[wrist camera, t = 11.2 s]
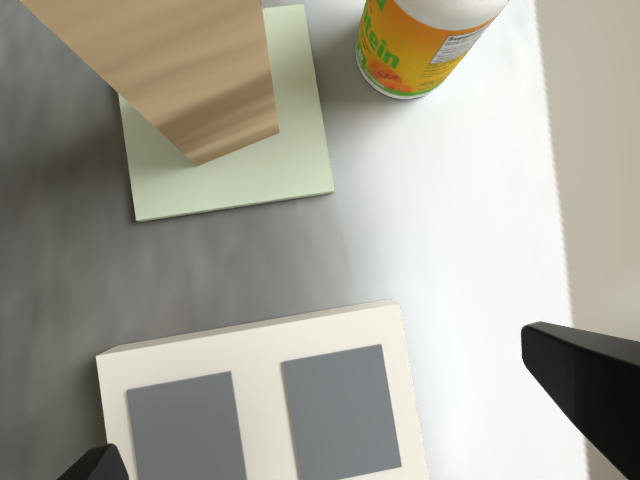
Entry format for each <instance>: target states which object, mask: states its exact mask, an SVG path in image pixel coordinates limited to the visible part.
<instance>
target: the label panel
mask: <svg viewBox="0 0 640 480" xmlns="http://www.w3.org/2000/svg"><path fill="white" fill-rule="evenodd" d="M96 361H97V368H98V376H99V383H100V391H101V398H102V406H103V413H104V420H105V428H106V435H107V443H113V444H115V445H116V446H117V448H118V450H119V453H120V455H121V457H122V460H123V462H124V465H125V467H126V469H127V472H128V475H129V480H429V475H428V469H427V463H426V457H425V451H424V445H423V440H422V434H421V428H420V422H419V416H418V410H417V404H416V398H415V392H414V387H413V381H412V375H411V369H410V363H409V357H408V351H407V345H406V339H405V334H404V328H403V322H402V316H401V310H400V304H399V303H397V302H395V301H393V300H390V299H386V300H380V301H375V302H369V303H363V304H357V305H351V306H346V307H340V308H334V309H328V310H322V311H316V312H311V313H305V314H299V315H293V316H287V317H282V318H276V319H270V320H264V321H258V322H253V323H247V324H241V325H235V326H229V327H223V328H218V329H212V330H206V331H200V332H194V333H189V334H183V335H177V336H171V337H165V338H159V339H154V340H148V341H142V342H136V343H130V344H125V345H119V346H116V347H114V348H112V349H109V350H107V351H105V352H103V353H101V354H99V355H97V356H96Z"/></svg>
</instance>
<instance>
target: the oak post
mask: <svg viewBox="0 0 640 480" xmlns="http://www.w3.org/2000/svg"><path fill="white" fill-rule="evenodd" d="M19 1H20V2H21V3H22V4H23V5H25V6H26V7H27V8H28V9H29V10H30V11H31V12H32V13H33V14H34V15H35V16H36V17H37V18H38V19H40V20H41V21H42V22H43V23H44V24H45V25H46V26H47V27H48V28H49V29H50V30H51V31H52V32H53V33H55V34H56V35H57V36H58V37H59V38H60V39H61V40H62V41H63V42H64V43H65V44H66V45H67V46H69V47H70V48H71V49H72V50H73V51H74V52H75V53H76V54H77V55H78V56H79V57H80V58H81V59H82V60H84V61H85V62H86V63H87V64H88V65H89V66H90V67H91V68H92V69H93V70H94V71H95V72H96V73H97V74H99V75H100V76H101V77H102V78H103V79H104V80H105V81H106V82H107V83H108V84H109V85H110V86H111V87H112V88H114V89H115V90H116V91H117V92H118V93H119V94H120V95H121V96H122V97H123V98H124V99H125V100H126V101H128V102H129V103H130V104H131V105H132V106H133V107H134V108H135V109H136V110H137V111H138V112H139V113H140V114H141V115H143V116H144V117H145V118H146V119H147V120H148V121H149V122H150V123H151V124H152V125H153V126H154V127H155V128H156V129H158V130H159V131H160V132H161V133H162V134H163V135H164V136H165V137H166V138H167V139H168V140H169V141H170V142H171V143H173V144H174V145H175V146H176V147H177V148H178V149H179V150H180V151H181V152H182V153H183V154H184V155H185V156H186V157H188V158H189V159H190V160H191V161H192V162H193V163H194V164H195V165H196V166H200V165H202V164H205V163H207V162H210V161H212V160H214V159H217V158H219V157H222V156H224V155H227V154H229V153H232V152H234V151H236V150H239V149H241V148H244V147H246V146H249V145H251V144H254V143H256V142H258V141H261V140H263V139H266V138H268V137H271V136H273V135H276V134H278V133H280V132H279V125H278V118H277V111H276V104H275V96H274V89H273V82H272V75H271V68H270V61H269V53H268V46H267V39H266V32H265V25H264V18H263V10H262V3H261V0H19Z"/></svg>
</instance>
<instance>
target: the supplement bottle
mask: <svg viewBox="0 0 640 480" xmlns="http://www.w3.org/2000/svg"><path fill="white" fill-rule="evenodd" d="M508 2H509V0H366V3H365V7H364V10H363V14H362V18H361V21H360V25H359V28H358V32H357V37H356V43H355V54H356V60H357V64H358V67H359V69H360V71H361V73H362V75H363V76H364V78H365V79H366V80H367V82H368V83H369V84H370V85H371V86H372V87H374V88H375V89H376V90H378V91H379V92H381V93H383V94H385V95H387V96H389V97H393V98H398V99H412V98H417V97H421V96H423V95H426V94H428V93H430V92H431V91H433V90H434V89H436V88H437V87H438V86H439V85H440V84H441V83H442V82H443V81H444V80H445V79H446V78H447V76H448V75H449V74H450V73H451V72H452V70H453V69H454V68H455V67H456V66H457V64H458V63H459V62H460V61H461V59H462V58H463V57H464V56H465V55H466V53H467V52H468V51H469V50H470V49H471V47H472V46H473V45H474V44H475V42H476V41H477V40H478V39H479V37H480V36H481V35H482V34H483V33H484V31H485V30H486V29H487V28H488V26H489V25H490V24H491V23H492V22H493V20H494V19H495V18H496V17H497V16H498V14H499V13H500V12H501V11H502V9H503V8H504V7H505V6H506V5H507V3H508Z"/></svg>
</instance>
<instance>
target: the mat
mask: <svg viewBox="0 0 640 480" xmlns="http://www.w3.org/2000/svg"><path fill="white" fill-rule="evenodd" d="M262 10H263V18H264V25H265V32H266V39H267V46H268V53H269V61H270V68H271V75H272V82H273V89H274V96H275V104H276V111H277V118H278V125H279V132H280V133H278V134H276V135H273V136H271V137H268V138H266V139H263V140H261V141H258V142H256V143H254V144H251V145H249V146H246V147H244V148H241V149H239V150H236V151H234V152H232V153H229V154H227V155H224V156H222V157H219V158H217V159H214V160H212V161H210V162H207V163H205V164H202V165H200V166H196V165H195V164H194V163H193V162H192V161H191V160H190V159H189V158H188V157H186V156H185V155H184V154H183V153H182V152H181V151H180V150H179V149H178V148H177V147H176V146H175V145H174V144H173V143H171V142H170V141H169V140H168V139H167V138H166V137H165V136H164V135H163V134H162V133H161V132H160V131H159V130H158V129H156V128H155V127H154V126H153V125H152V124H151V123H150V122H149V121H148V120H147V119H146V118H145V117H144V116H143V115H141V114H140V113H139V112H138V111H137V110H136V109H135V108H134V107H133V106H132V105H131V104H130V103H129V102H128V101H126V100H125V99H124V98H123V97H122V96H121V95H120V94H119V93H118V96H119V103H120V110H121V117H122V124H123V131H124V138H125V145H126V152H127V159H128V167H129V174H130V181H131V188H132V195H133V202H134V209H135V216H136V221H140V222H143V221H150V220H156V219H163V218H170V217H176V216H183V215H189V214H196V213H203V212H209V211H216V210H223V209H229V208H236V207H243V206H249V205H256V204H262V203H269V202H276V201H282V200H289V199H296V198H302V197H309V196H316V195H322V194H329V193H334V185H333V179H332V173H331V167H330V161H329V154H328V148H327V142H326V136H325V130H324V124H323V118H322V112H321V106H320V100H319V94H318V88H317V81H316V75H315V69H314V63H313V57H312V51H311V45H310V39H309V33H308V27H307V21H306V15H305V9H304V4H298V5H290V6H281V7H272V8H264V9H262Z"/></svg>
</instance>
